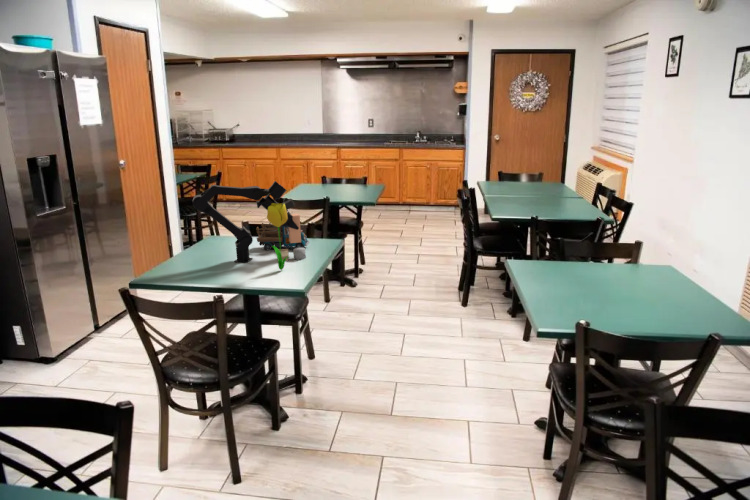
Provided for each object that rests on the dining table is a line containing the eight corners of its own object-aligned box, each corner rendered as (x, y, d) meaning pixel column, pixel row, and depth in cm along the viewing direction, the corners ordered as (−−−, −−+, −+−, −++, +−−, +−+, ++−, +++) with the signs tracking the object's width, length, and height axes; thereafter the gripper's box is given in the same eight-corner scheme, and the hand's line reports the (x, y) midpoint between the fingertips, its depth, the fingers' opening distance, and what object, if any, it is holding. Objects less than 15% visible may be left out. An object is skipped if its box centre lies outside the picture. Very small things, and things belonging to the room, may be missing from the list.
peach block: (290, 243, 251) (289, 216, 248) (289, 240, 256) (287, 214, 253) (301, 242, 253) (299, 215, 249) (299, 240, 257) (298, 213, 254)
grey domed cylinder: (303, 260, 248) (302, 250, 247) (292, 259, 249) (291, 250, 248) (307, 256, 253) (306, 247, 252) (296, 256, 255) (295, 247, 253)
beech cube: (287, 260, 248) (287, 251, 247) (278, 261, 248) (277, 251, 247) (288, 257, 252) (288, 248, 251) (279, 258, 252) (278, 249, 251)
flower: (293, 268, 236) (289, 201, 228) (288, 273, 228) (284, 205, 220) (274, 267, 237) (269, 201, 229) (269, 273, 229) (263, 205, 221)
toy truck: (306, 251, 264) (304, 221, 260) (257, 251, 265) (254, 221, 261) (310, 245, 274) (308, 216, 270) (262, 245, 276) (260, 217, 272)
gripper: (286, 196, 238) (312, 218, 245) (281, 190, 256) (305, 211, 262) (270, 215, 238) (296, 237, 244) (265, 208, 256) (290, 228, 262)
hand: (297, 227), depth 253 cm, fingers closed on peach block, 5 cm apart
